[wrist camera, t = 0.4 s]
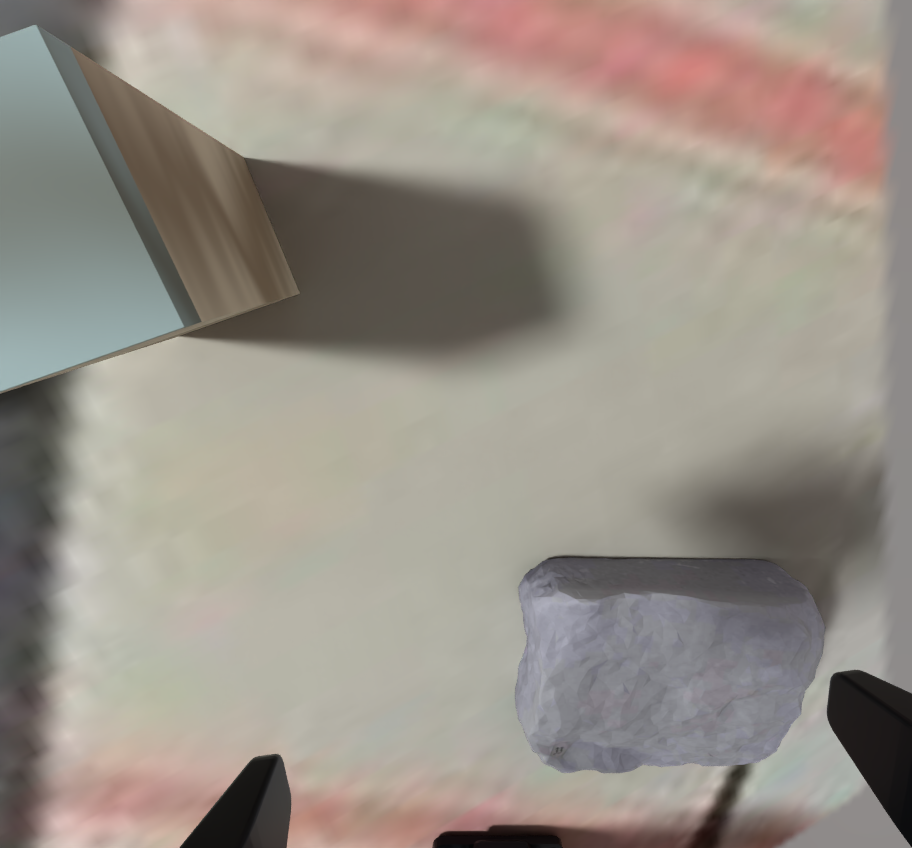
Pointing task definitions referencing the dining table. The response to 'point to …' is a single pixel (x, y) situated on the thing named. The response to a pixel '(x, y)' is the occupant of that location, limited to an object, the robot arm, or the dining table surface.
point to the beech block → (115, 218)
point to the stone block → (663, 661)
